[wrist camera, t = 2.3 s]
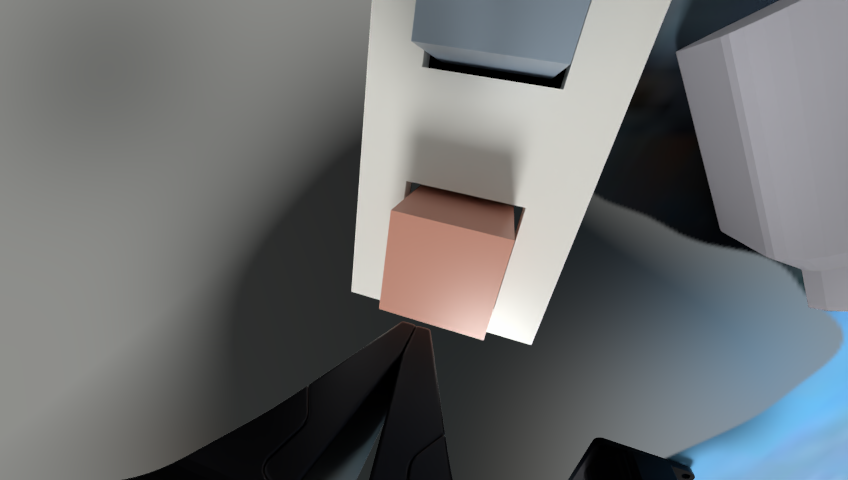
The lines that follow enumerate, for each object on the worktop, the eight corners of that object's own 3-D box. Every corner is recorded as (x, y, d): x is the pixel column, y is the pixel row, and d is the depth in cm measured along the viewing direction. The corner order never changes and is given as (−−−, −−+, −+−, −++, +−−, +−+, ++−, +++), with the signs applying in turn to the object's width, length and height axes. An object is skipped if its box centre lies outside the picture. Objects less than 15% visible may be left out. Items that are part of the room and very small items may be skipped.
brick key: (489, 284, 17) (483, 340, 13) (409, 262, 17) (378, 308, 13) (513, 204, 15) (514, 240, 11) (421, 184, 15) (390, 210, 11)
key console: (527, 297, 20) (531, 345, 16) (381, 257, 21) (351, 291, 17) (668, -90, 12) (749, -191, 8) (422, -105, 14) (385, -196, 10)
